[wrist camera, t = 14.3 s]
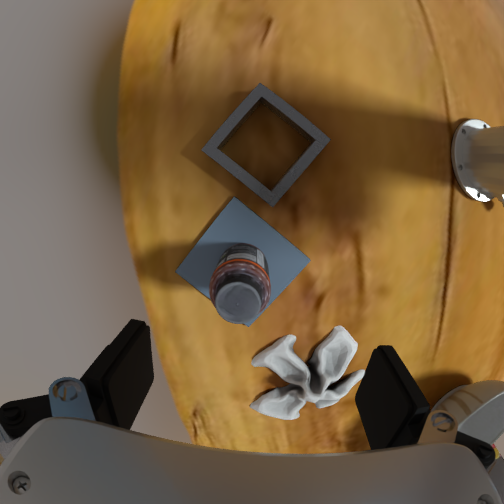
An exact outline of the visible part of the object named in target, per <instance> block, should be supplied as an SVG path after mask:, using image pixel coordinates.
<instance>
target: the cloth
mask: <svg viewBox="0 0 504 504" xmlns="http://www.w3.org/2000/svg"><path fill="white" fill-rule="evenodd" d="M295 341H296V336H294V335H287V336H284V337H282V338H280V339H279V340H277V341H276V342H275V343H274V344H273V345H272V346H269V347H267V348H266V349H265V350H263V351H262V352H260V353H259V354H257V355H256V356H255V357H254V358H253V360H252V363H251V364H252V365H253V366H254V367H257V366H260V367H268V368H270V369H271V370H272V371H274V372H275V373H276V374H278V375H279V376H280V377H281V378H282V379H283V380H285V381H286V382H288V383H291V384H289V385H287V386H286V387H282V388H278V387H277V388H274V389H273V390H272V391H270V392H268V393H267V394H264V395H262V396H261V397H259V399H258V400H256V401H254V402H253V403H251V405H250V408H252V409H254V410H256V411H258V412H260V413H262V414H265V415H268V416H271V417H275V418H279V419H284V420H293V419H296V418H298V417H299V416H300V415H299V410H300V409H301V408H302V407H303V406H304V405H305V403H306V401H309V402H313V403H315V402H316V403H315V404H316V407H317V408H323V407H327V406H330V405H333V404H335V403H336V402H338V401H339V400H340V398H342V397H343V396H345V395H346V394H347V393H348V392H349V390H350V389H351V388H352V386H354V385H355V384H356V383H357V382H358V381H359V380H361V379H362V378H363V376H364V373H365V370H358V371H355V372H353V373H352V374H350V375H349V376H348V377H347V378H346V379H345V380H343V381H341V382H340V383H338V384H335V385H333V386H329V387H328V385H330V384H332V383H334V382H335V381H337V380H339V379H340V378H341V376H342V375H343V374H344V372H345V370H346V368H347V366H348V364H349V363H350V361H351V359H352V358H353V356H354V354H355V353H356V351H357V346H358V344H357V343H356V341H355V340H354V339H353V338H352V336H351V335H350V334H349V333H348V332H347V330H346V329H345V328H344V327H342V326H336V327H334V329H333V331H332V332H331V333H330V335H329V336H328V337H327V338H326V339H325V340H324V341H323V342H322V343H320V344H319V345H318V347H317V348H316V349H315V351H314V353H313V356H312V358H311V359H310V360H309V361H308V362H307V363H308V364H309V365H310V367H308V366H307V365H306V364H305V363H304V362H303V361H302V360H301V359H300V358H299V357H298V356H297V355H296V354H295V353H294V350H293V348H292V347H293V344H294V342H295Z"/></svg>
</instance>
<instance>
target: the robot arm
mask: <svg viewBox="0 0 504 504" xmlns="http://www.w3.org/2000/svg"><path fill="white" fill-rule="evenodd" d="M451 155H452V164H453V169H454V173H455V176H456V178H457V181H458V183H459V185H460V186H461V188H462V190H463V191H464V192H465V193H466V194H467V195H468V196H469V197H470V198H472V199H474V200H477V201H481V202H486V201H490V200H492V199H493V198H494V197H497V198H498V200H499V201H500V202H502V204H503V207H504V126H498V127H490V126H489V125H488V124H486V123H485V122H483V121H481V120H478V119H470V120H466V121H464V122H463V123H461V124H460V125H459V126H458V128H457V129H456V131H455V134H454V136H453V140H452V148H451ZM153 379H154V373H153V363H152V352H151V339H150V327H149V326H147V325H146V323H145V322H144V321H139V320H135V319H131V320H130V321H129V322H128V324H127V325H126V326H125V327H124V328H123V330H122V331H121V332H120V333H119V334H118V336H117V337H116V338H115V339H114V340H113V342H112V343H111V344H110V345H108V346H107V347H106V348H105V349H104V350H103V351H102V352H101V354H100V355H99V356H98V357H97V359H96V360H95V361H94V363H92V365H91V366H90V367H89V369H88V370H87V371H86V372H85V374H84V375H83V376H82V377H81V378H80V380H78V379H76V378H72V377H63V378H60V379H57V380H56V381H54V382H53V383H52V384H51V385H50V387H49V394H48V395H43V396H38V397H33V398H27V399H22V400H16V401H10V402H7V403H5V404H3V405H2V406H1V408H0V504H504V460H502V459H501V458H498V459H497V460H496V459H495V457H496V454H495V450H494V449H493V447H492V446H491V445H490V444H488V443H487V442H484V441H482V440H479V439H477V438H474V437H472V436H469V435H467V434H464V433H462V432H460V431H457V429H458V422H457V420H456V418H455V417H454V416H453V415H452V414H451V413H449V412H447V411H444V410H435V411H432V412H430V410H429V407H430V405H429V403H428V402H427V400H426V398H425V397H424V395H423V393H422V392H421V390H420V389H419V387H418V385H417V384H416V382H415V381H414V379H413V377H412V376H411V374H410V373H409V371H408V369H407V368H406V366H405V365H404V363H403V362H402V360H401V359H400V357H399V356H398V354H397V353H396V351H395V350H394V348H393V347H392V346H390V345H380V346H378V347H377V349H374V350H373V352H372V355H371V358H370V360H369V363H368V366H367V368H366V371H365V373H364V376H363V378H362V381H361V383H360V386H359V388H358V391H357V393H356V396H355V402H356V405H357V408H358V411H359V414H360V417H361V420H362V423H363V426H364V429H365V432H366V435H367V438H368V441H369V444H370V447H371V450H367V451H357V452H345V453H326V454H278V453H260V452H247V451H237V450H228V449H220V448H213V447H206V446H200V445H194V444H188V443H183V442H178V441H173V440H168V439H164V438H159V437H155V436H151V435H147V434H143V433H139V432H135V431H132V430H130V428H131V426H132V424H133V422H134V420H135V418H136V416H137V414H138V411H139V410H140V407H141V405H142V403H143V401H144V399H145V397H146V395H147V393H148V391H149V389H150V387H151V385H152V383H153Z"/></svg>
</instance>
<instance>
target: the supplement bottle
mask: <svg viewBox="0 0 504 504" xmlns="http://www.w3.org/2000/svg"><path fill="white" fill-rule="evenodd" d="M209 295H210V298H211V301H212V303H213V305H214V306H215V308H216V309H217V312H218V313H219V315H220V316H221V317H222V318H223V319H225V320H226V321H228V322H231V323H235V324H243V323H247V322H249V321H251V320H253V319H254V318H255V317H256V316H257V315H258V314H259V313H260V312H262V311H263V310H264V309H265V307H266V306H267V304H268V302H269V299H270V296H271V284H270V277H269V269H268V263H267V260H266V257H265V255H264V254H263V253H262V251H261V250H260V249H258V248H257V247H255V246H254V245H251V244H247V243H239V244H235V245H233V246H231V247H229V248H228V249H227V250H225V252H224V253H223V254H222V256H221V257H220V259H219V262H218V264H217V266H216V268H215V271H214V273H213V275H212V277H211V280H210V284H209Z"/></svg>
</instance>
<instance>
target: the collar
mask: <svg viewBox="0 0 504 504" xmlns="http://www.w3.org/2000/svg"><path fill="white" fill-rule="evenodd" d="M261 103H262V104H263V105H264V106H266V107H267V108H268V109H270V110H271V111H272V112H274V113H275V114H276V115H277V116H279V117H280V118H281V119H282V120H284V121H285V122H286V123H287V124H289V125H290V126H291V127H292V128H294V129H295V130H296V131H297V132H298V133H300V134H301V135H302V136H303V137H304V138H306V139H307V140H308V141H309V142H310V143H311V144H310V145H309V146H308V147H307V148H306V149H305V151H304V152H303V153H302V154H301V155H300V156H299V157H298V159H297V160H296V161H295V162H294V163H293V164H292V166H291V167H290V168H289V169H288V170H287V171H286V173H285V174H284V175H283V176H282V177H281V178H280V180H279V181H278V182H277V183H276V184H275V185H274V187H273V188H272V189H271V190H269V189H268V188H266V187H265V186H264V185H263V184H262V183H260V182H259V181H258V180H257V179H255V178H254V177H253V176H252V175H250V174H249V173H248V172H247V171H246V170H244V169H243V168H242V167H241V166H239V165H238V164H237V163H235V162H234V161H233V160H232V159H230V158H229V157H228V156H227V155H225V154H224V153H223V152H221V151H220V150H221V149H222V148H223V146H224V145H225V144H226V143H227V142H228V141H229V139H230V138H231V137H232V136H233V135H234V133H235V132H236V131H237V130H238V129H239V128H240V127H241V125H242V124H243V123H244V122H245V121H246V120H247V119H248V117H249V116H250V115H251V114H252V113H253V112H254V111H255V110H256V108H257V107H258V106H259V105H260V104H261ZM330 140H331V139H330V138H329V137H327V136H326V135H325V134H324V133H323V132H322V131H321V130H319V129H318V128H317V127H316V126H315V125H314V124H312V123H311V122H310V121H309V120H308V119H306V118H305V117H304V116H303V115H302V114H300V113H299V112H298V111H297V110H295V109H294V108H293V107H292V106H290V105H289V104H288V103H286V102H285V101H284V100H283V99H281V98H280V97H279V96H277V95H276V94H275V93H273V92H272V91H271V90H269V89H268V88H267V87H265V86H264V85H262V84H261V83H259V84H258V86H257V87H256V88H255V89H254V90H253V91H252V92H251V93H250V94H249V95H248V96H247V97H246V98H245V99H244V101H243V102H242V103H241V104H240V105H239V106H238V107H237V108H236V109H235V111H234V112H233V113H232V114H231V115H230V116H229V117H228V119H227V120H226V121H225V122H224V123H223V124H222V126H221V127H220V128H219V129H218V130H217V131H216V133H215V134H214V135H213V136H212V137H211V139H210V140H209V141H208V142H207V144H206V145H205V146H204V147H203V148H202V151H203V152H204V153H206V154H207V155H208V156H210V157H211V158H212V159H213V160H215V161H216V162H217V163H218V164H220V165H221V166H222V167H224V168H225V169H226V170H227V171H229V172H230V173H231V174H232V175H234V176H235V177H236V178H237V179H239V180H240V181H241V182H242V183H244V184H245V185H246V186H247V187H249V188H250V189H251V190H252V191H253V192H255V193H256V194H257V195H258V196H260V197H261V198H262V199H263V200H264V201H266V202H267V203H268V204H269V205H270V206H272V207H273V206H274V205H275V204H276V203H277V202H278V201H279V199H280V198H281V197H282V196H283V195H284V194H285V192H286V191H287V190H288V189H289V188H290V186H291V185H292V184H293V183H294V182H295V181H296V179H297V178H298V177H299V176H300V175H301V174H302V173H303V171H304V170H305V169H306V168H307V167H308V166H309V164H310V163H311V162H312V161H313V160H314V159H315V157H316V156H317V155H318V154H319V153H320V152H321V150H322V149H323V148H324V147H325V146H326V145H327V144H328V142H329V141H330Z"/></svg>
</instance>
